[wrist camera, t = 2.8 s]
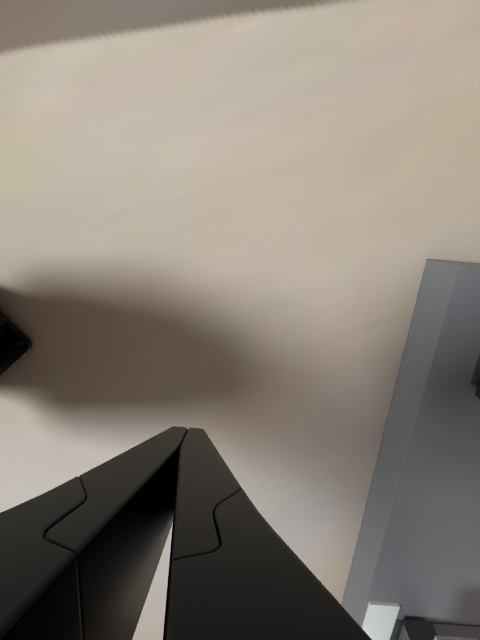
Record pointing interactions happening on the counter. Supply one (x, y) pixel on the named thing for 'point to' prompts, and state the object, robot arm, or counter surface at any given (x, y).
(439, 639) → the switch
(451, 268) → the switch panel
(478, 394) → the switch
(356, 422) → the counter surface
